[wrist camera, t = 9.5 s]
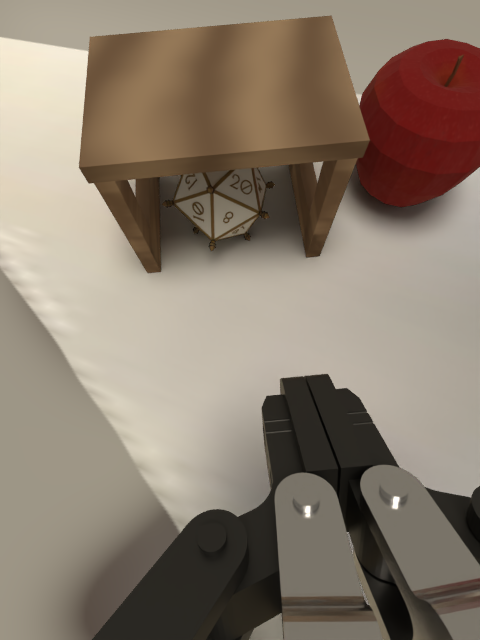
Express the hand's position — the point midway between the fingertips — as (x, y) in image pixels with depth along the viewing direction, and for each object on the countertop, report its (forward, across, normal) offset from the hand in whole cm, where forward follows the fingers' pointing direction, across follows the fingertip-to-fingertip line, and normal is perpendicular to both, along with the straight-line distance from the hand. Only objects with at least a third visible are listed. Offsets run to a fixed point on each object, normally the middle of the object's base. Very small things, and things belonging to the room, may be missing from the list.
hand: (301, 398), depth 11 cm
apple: (+26, -14, -4) cm, 30 cm away
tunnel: (+24, +2, -3) cm, 25 cm away
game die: (+24, +2, -2) cm, 24 cm away
